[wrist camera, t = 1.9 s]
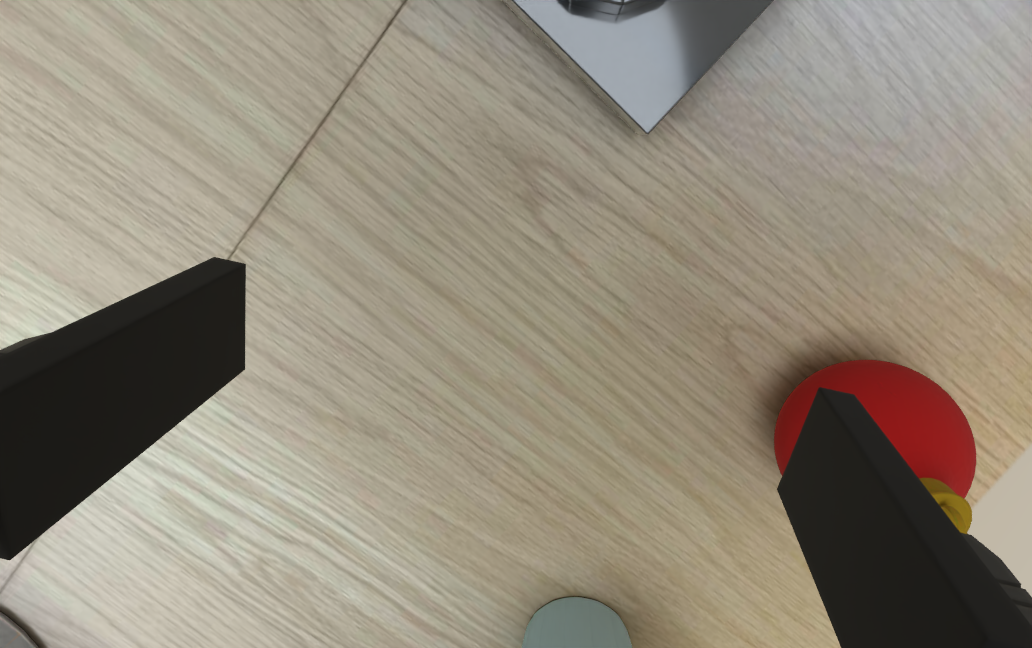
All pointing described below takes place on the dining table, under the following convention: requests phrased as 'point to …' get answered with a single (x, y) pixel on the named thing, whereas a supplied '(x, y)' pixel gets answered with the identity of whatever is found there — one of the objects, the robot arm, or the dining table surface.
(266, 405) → the dining table surface
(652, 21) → the push button box
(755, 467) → the dining table surface
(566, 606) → the cup
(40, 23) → the dining table surface
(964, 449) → the christmas ornament
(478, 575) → the dining table surface
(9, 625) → the mug
